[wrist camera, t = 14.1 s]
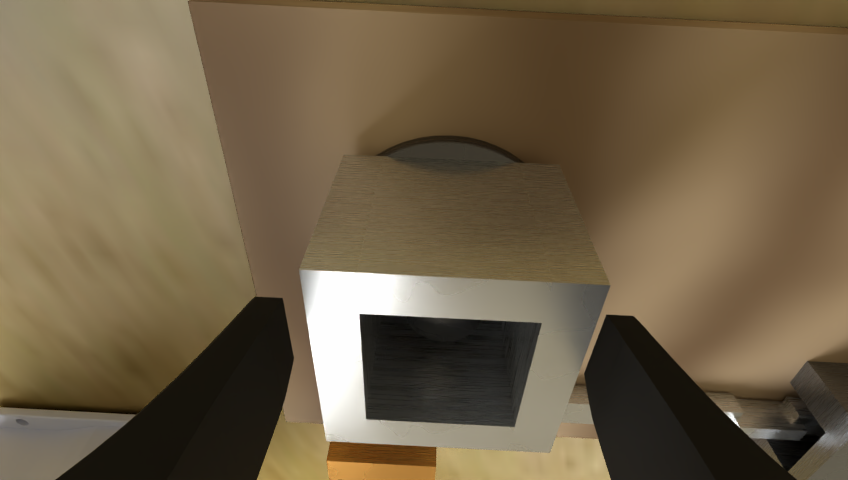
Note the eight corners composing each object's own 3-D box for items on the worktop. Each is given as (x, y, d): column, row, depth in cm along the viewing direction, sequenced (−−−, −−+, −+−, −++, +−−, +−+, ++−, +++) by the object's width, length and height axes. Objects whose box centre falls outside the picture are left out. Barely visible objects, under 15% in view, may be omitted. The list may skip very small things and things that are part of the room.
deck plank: (290, 405, 20) (286, 421, 20) (203, -6, 11) (187, 1, 10) (983, 442, 20) (1001, 460, 20) (1504, 61, 11) (1571, 71, 10)
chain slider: (358, 421, 19) (338, 538, 16) (351, 338, 16) (326, 461, 13) (807, 445, 19) (889, 569, 16) (883, 367, 16) (1004, 498, 13)
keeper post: (342, 309, 16) (322, 390, 13) (326, 128, 12) (293, 193, 9) (533, 319, 16) (550, 403, 13) (578, 141, 12) (615, 210, 9)
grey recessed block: (354, 308, 15) (326, 441, 11) (343, 154, 12) (298, 269, 8) (524, 317, 15) (549, 452, 11) (559, 164, 12) (611, 285, 8)
